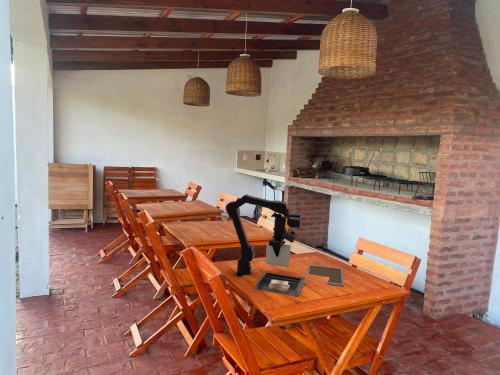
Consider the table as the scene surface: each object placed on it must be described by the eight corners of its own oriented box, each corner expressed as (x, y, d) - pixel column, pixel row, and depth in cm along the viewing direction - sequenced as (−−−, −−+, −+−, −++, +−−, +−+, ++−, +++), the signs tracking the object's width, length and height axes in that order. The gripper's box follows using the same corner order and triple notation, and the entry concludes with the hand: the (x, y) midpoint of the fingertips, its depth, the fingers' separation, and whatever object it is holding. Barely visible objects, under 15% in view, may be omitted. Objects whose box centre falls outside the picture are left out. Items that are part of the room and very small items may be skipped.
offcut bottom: (268, 288, 186) (268, 285, 186) (271, 284, 191) (271, 281, 191) (287, 291, 184) (287, 288, 184) (289, 288, 189) (289, 284, 188)
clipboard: (305, 280, 201) (309, 262, 230) (305, 283, 201) (308, 265, 230) (344, 285, 197) (342, 266, 226) (343, 288, 197) (342, 269, 227)
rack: (254, 291, 184) (255, 283, 184) (265, 278, 202) (265, 270, 202) (297, 298, 179) (297, 290, 178) (304, 284, 197) (304, 277, 196)
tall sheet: (265, 263, 203) (266, 243, 202) (266, 262, 205) (267, 242, 204) (288, 267, 200) (289, 246, 198) (289, 266, 202) (290, 245, 200)
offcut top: (270, 285, 186) (270, 282, 186) (271, 282, 190) (271, 279, 190) (287, 287, 184) (287, 284, 184) (288, 284, 189) (288, 281, 189)
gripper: (291, 231, 189) (289, 263, 191) (298, 224, 206) (296, 253, 208) (269, 229, 192) (267, 260, 194) (278, 222, 210) (275, 250, 212)
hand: (277, 256), depth 202 cm, fingers closed on tall sheet, 2 cm apart
